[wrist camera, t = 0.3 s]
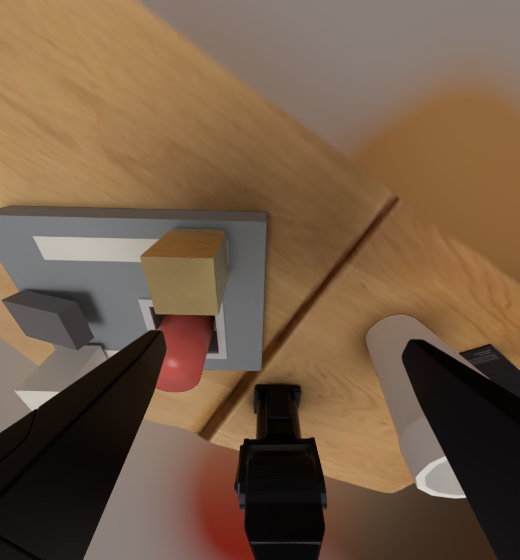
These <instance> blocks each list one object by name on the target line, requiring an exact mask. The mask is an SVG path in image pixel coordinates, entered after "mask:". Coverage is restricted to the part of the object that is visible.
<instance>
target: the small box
mask: <svg viewBox="0 0 520 560" xmlns="http://www.w3.org/2000/svg"><path fill="white" fill-rule="evenodd" d="M460 355H461V356H462V357H463V358H464V359H466V360H467V361H468V362H469V363H471V364H472V365H473V366H474V367H475V368H477V369H478V370H479V371H480V372H481V373H483V374H484V375H485V376H486V377H488V378H489V379H490V380H491V381H493V382H495V383H496V384H498V385H500V386H501V387H503V388H505V389H506V390H508V391H510V392H511V393H513V394H515V395H516V396H518V397H520V370H519V369H518V368H516V367H515V366H514V365H513V364H512V363H511V362H510V361H509V360H508V359H507V358H506V357H505V356H504V355H503V354H501V353H500V352H499V351H498V350H497V349H496V348H495V347H494V346H493V345H490V346H486V347H483V348H480V349H476V350H473V351H469V352H465V353H462V354H460Z"/></svg>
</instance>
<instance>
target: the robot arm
mask: <svg viewBox="0 0 520 560" xmlns="http://www.w3.org/2000/svg"><path fill="white" fill-rule="evenodd" d="M166 350H167V346H166V342H165V337H164V333H163V331H162V330H149V331H148V332H146V333H145V334H143V335H142V336H140V337H139V338H137V339H136V340H135V341H133V342H132V343H130V344H129V345H127V346H126V347H124V348H123V349H121V350H120V351H119V352H117V353H116V354H114V355H113V356H111V357H110V358H108V359H107V360H106V361H104V362H103V363H101V364H100V365H98V366H97V367H95V368H94V369H93V370H91V371H90V372H88V373H87V374H85V375H84V376H82V377H81V378H80V379H78V380H77V381H75V382H74V383H72V384H71V385H69V386H68V387H66V388H65V389H64V390H62V391H61V392H59V393H58V394H56V395H55V396H53V397H52V398H51V399H49V400H48V401H46V402H45V403H43V404H42V405H40V406H39V407H38V409H34V410H33V411H32V412H30V413H29V414H27V415H26V416H25V417H23V418H21V419H20V420H19V421H17V422H16V423H14V424H13V425H11V426H10V427H8V428H7V429H5V430H4V431H2V432H1V433H0V560H83V559H84V556H85V554H86V551H87V549H88V547H89V544H90V542H91V540H92V537H93V535H94V533H95V530H96V528H97V526H98V523H99V521H100V519H101V516H102V514H103V511H104V509H105V507H106V504H107V502H108V500H109V497H110V495H111V493H112V490H113V488H114V485H115V483H116V481H117V479H118V476H119V474H120V471H121V469H122V467H123V464H124V462H125V460H126V457H127V455H128V453H129V450H130V448H131V446H132V443H133V441H134V439H135V436H136V434H137V431H138V429H139V427H140V424H141V422H142V420H143V417H144V415H145V413H146V410H147V408H148V406H149V403H150V401H151V398H152V396H153V393H154V390H155V387H156V384H157V381H158V378H159V374H160V371H161V368H162V364H163V361H164V358H165V355H166ZM402 362H403V365H404V367H405V370H406V372H407V375H408V377H409V380H410V383H411V385H412V388H413V390H414V393H415V395H416V398H417V400H418V402H419V404H420V407H421V409H422V411H423V413H424V415H425V417H426V419H427V421H428V423H429V425H430V427H431V429H432V431H433V433H434V435H435V436H436V438H437V440H438V442H439V444H440V446H441V448H442V450H443V452H444V454H445V456H446V458H447V460H448V462H449V464H450V466H451V468H452V470H453V472H454V474H455V476H456V478H457V480H458V482H459V484H460V486H461V488H462V490H463V492H464V494H465V496H466V498H467V500H468V502H469V504H470V506H471V508H472V510H473V512H474V514H475V516H476V518H477V520H478V522H479V524H480V526H481V528H482V529H483V532H484V533H485V536H486V537H487V540H488V541H489V543H490V545H491V547H492V549H493V551H494V553H495V555H496V557H497V559H498V560H520V397H518V396H516V395H515V394H513V393H511V392H510V391H508V390H506V389H505V388H503V387H501V386H500V385H498V384H496V383H495V382H493V381H491V380H490V379H488V378H486V377H485V376H483V375H481V374H480V373H478V372H476V371H475V370H473V369H471V368H470V367H468V366H467V365H465V364H463V363H462V362H460V361H458V360H457V359H455V358H453V357H452V356H450V355H448V354H447V353H445V352H443V351H442V350H440V349H438V348H437V347H435V346H433V345H432V344H430V343H428V342H427V341H425V340H423V339H410V340H409V341H408V343H407V345H406V347H405V349H404V351H403V353H402ZM300 395H301V387H299V386H266V385H257V386H255V393H254V413H255V414H257V431H256V439H244V444H243V445H241V446H240V454H239V463H238V470H237V474H236V479H235V485H234V489H235V491H236V493H237V494H238V499H239V502H240V503H239V505H240V510H241V511H245V523H244V526H245V532H246V535H247V538H248V541H249V544H250V547H251V549H252V552H253V555H254V558H255V560H318V557H319V553H320V549H321V545H322V540H323V536H324V532H325V522H324V517H323V510H326V509H327V497H326V489H325V482H324V476H323V471H322V467H321V463H320V459H319V455H318V451H317V447H316V442H315V438H314V437H312V438H305V439H301V431H300V424H299V416H298V406H299V400H300Z"/></svg>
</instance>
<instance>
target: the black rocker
mask: <svg viewBox="0 0 520 560" xmlns="http://www.w3.org/2000/svg"><path fill="white" fill-rule="evenodd" d="M2 302H3V303H4V304H5V306H6V307H7V309H8V310H9V312H10V313H11V315H12V316H13V317H14V319H15V320H16V322H17V323H18V325H19V326H20V328H21V329H22V330H23V332H24V333H25V335H26V336H29V337H32V338H35V339H39V340H42V341H46V342H49V343H53V344H56V345H60V346H63V347H67V348H70V349H74V350H77V351H78V350H79V349H80V348H82V347H83V346H84V345H85V344H87V343H88V342H89V341H91V340H92V339H93V338H94V336H93V334H92V332H91V330H90V328H89V325H88V323H87V321H86V319H85V317H84V315H83V313H82V311H81V309H80V307H79V305H78V303H77V302H75V301H70V300H66V299H62V298H57V297H53V296H48V295H44V294H39V293H35V292H30V291H26V290H23V291H21V292H18V293H16V294H14V295H12V296H10V297H7V298H5V299H3V300H2Z"/></svg>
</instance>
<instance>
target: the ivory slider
mask: <svg viewBox="0 0 520 560" xmlns="http://www.w3.org/2000/svg"><path fill="white" fill-rule="evenodd" d="M106 360H107V358H106V356H105V354H104V352H103V350H102V348H101V346H87V345H84V346H83V347H82V348H80V349H79V350H78V351H77V350H74V349H70V348H67V347H63V346H60V347H59V348H58V349H56V350H55V351H54V352H53V353H52V354H51V355H50V356H49V357H48V358H47V359H46V360H45V361H44V362H43V363H42V364H41V365H40V366H39V367H38V368H37V369H36V370H35V371H34V372H33V373H32V374H31V375H30V376H29V377H28V378H27V379H26V380H25V381H24V382H23V383H22V384H21V385H20V386H19V387H18V388H17V389H16V390H15V392H16V393H17V394H18V395H19V397H20V398H21V399H22V400H23V401H24V402H25V403H26V405H27V406H28V407H29V408H30V409H31V410H32V411H33V410H34V409H38V407H39V406H40V405H42V404H43V403H45V402H46V401H48V400H49V399H51V398H52V397H53V396H55V395H56V394H58V393H59V392H61V391H62V390H64V389H65V388H66V387H68V386H69V385H71V384H72V383H74V382H75V381H77V380H78V379H80V378H81V377H82V376H84V375H85V374H87V373H88V372H90V371H91V370H93V369H94V368H95V367H97V366H98V365H100V364H101V363H103V362H104V361H106Z"/></svg>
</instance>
